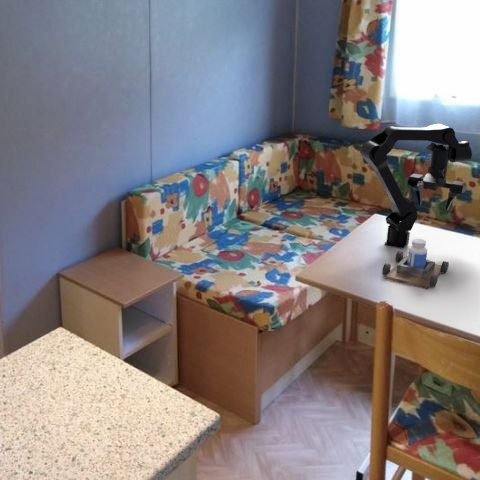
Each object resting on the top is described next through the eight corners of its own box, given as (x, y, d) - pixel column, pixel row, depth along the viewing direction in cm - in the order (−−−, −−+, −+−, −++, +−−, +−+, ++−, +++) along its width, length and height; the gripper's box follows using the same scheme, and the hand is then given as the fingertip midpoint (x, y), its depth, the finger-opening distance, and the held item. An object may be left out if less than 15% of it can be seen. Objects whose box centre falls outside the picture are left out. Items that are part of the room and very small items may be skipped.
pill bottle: (427, 270, 207) (432, 241, 204) (419, 275, 203) (423, 245, 200) (412, 265, 211) (415, 236, 207) (403, 270, 207) (406, 240, 203)
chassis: (380, 277, 204) (381, 266, 202) (399, 258, 218) (400, 248, 217) (432, 290, 196) (433, 279, 195) (448, 269, 211) (450, 259, 209)
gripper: (403, 163, 222) (398, 208, 228) (460, 173, 213) (453, 219, 218) (415, 157, 231) (409, 200, 236) (470, 165, 221) (463, 210, 227)
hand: (433, 207), depth 229 cm, fingers open, 9 cm apart
